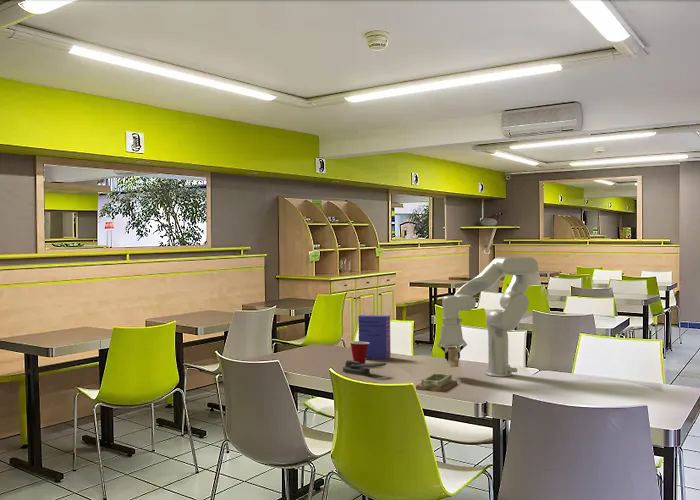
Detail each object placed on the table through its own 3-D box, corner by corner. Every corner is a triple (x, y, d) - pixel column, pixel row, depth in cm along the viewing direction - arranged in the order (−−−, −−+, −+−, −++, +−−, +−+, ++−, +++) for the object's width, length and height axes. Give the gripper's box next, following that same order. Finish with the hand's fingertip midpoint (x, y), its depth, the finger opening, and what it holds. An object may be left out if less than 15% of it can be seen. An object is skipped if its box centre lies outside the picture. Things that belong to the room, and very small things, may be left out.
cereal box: (390, 357, 356) (390, 315, 356) (389, 359, 352) (389, 316, 351) (360, 357, 359) (359, 315, 359) (358, 358, 354) (358, 316, 354)
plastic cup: (374, 363, 338) (373, 341, 337) (358, 366, 331) (358, 343, 331) (360, 361, 346) (360, 339, 346) (345, 363, 339) (345, 341, 339)
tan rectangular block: (455, 361, 305) (455, 345, 305) (459, 366, 293) (458, 349, 293) (446, 362, 306) (446, 345, 305) (449, 367, 294) (449, 350, 293)
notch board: (457, 383, 288) (456, 374, 288) (444, 391, 272) (444, 382, 272) (430, 381, 294) (430, 372, 294) (416, 389, 278) (415, 380, 278)
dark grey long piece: (375, 365, 300) (339, 358, 318) (375, 379, 300) (340, 371, 318) (388, 362, 306) (352, 356, 324) (388, 376, 306) (352, 369, 324)
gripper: (467, 320, 303) (469, 358, 303) (432, 321, 303) (434, 359, 304) (470, 322, 295) (471, 361, 295) (434, 323, 296) (435, 362, 296)
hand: (452, 359), depth 299 cm, fingers closed on tan rectangular block, 4 cm apart
